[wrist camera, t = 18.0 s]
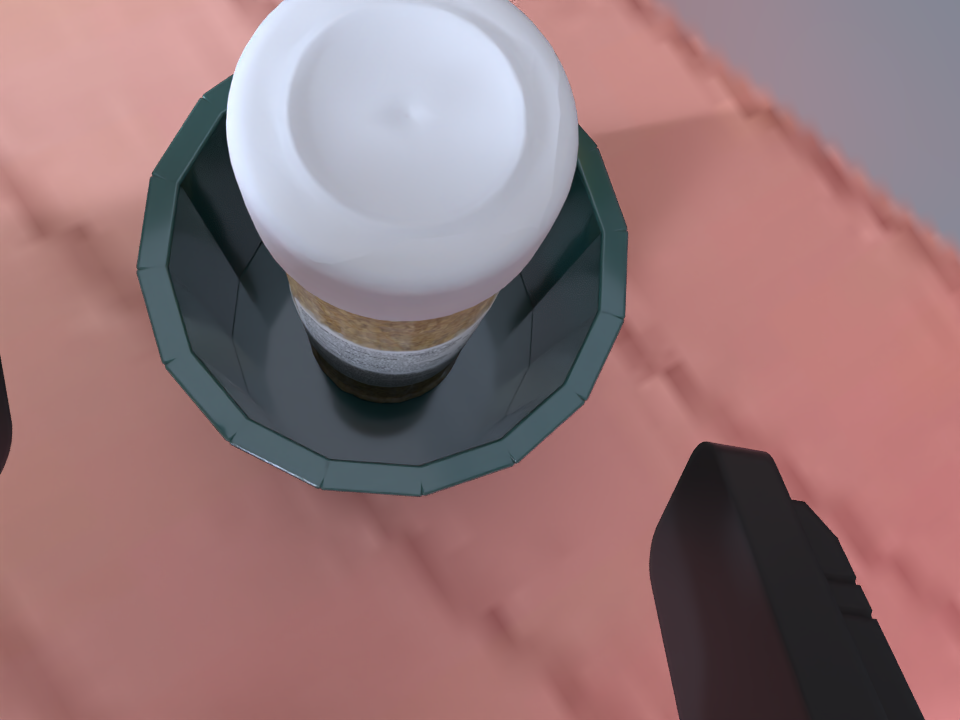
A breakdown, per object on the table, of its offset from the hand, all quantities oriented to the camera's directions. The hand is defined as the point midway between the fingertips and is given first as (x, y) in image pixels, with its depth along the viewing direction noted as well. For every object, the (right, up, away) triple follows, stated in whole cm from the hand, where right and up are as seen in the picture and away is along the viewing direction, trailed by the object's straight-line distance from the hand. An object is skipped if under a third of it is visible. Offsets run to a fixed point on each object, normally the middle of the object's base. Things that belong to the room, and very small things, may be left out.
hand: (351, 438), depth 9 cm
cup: (-1, +2, +15) cm, 15 cm away
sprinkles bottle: (-1, +2, +14) cm, 14 cm away
